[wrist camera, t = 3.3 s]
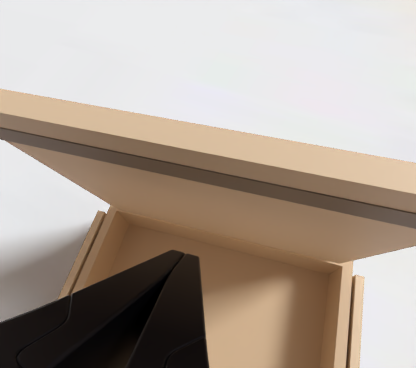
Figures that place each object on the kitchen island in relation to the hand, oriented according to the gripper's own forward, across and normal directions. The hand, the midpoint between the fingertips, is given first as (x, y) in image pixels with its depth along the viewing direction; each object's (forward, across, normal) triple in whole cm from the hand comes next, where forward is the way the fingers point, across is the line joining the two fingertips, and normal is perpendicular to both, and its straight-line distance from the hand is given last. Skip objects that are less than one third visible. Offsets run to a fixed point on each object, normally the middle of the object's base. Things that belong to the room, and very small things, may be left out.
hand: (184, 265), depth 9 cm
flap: (+8, 0, +3) cm, 8 cm away
